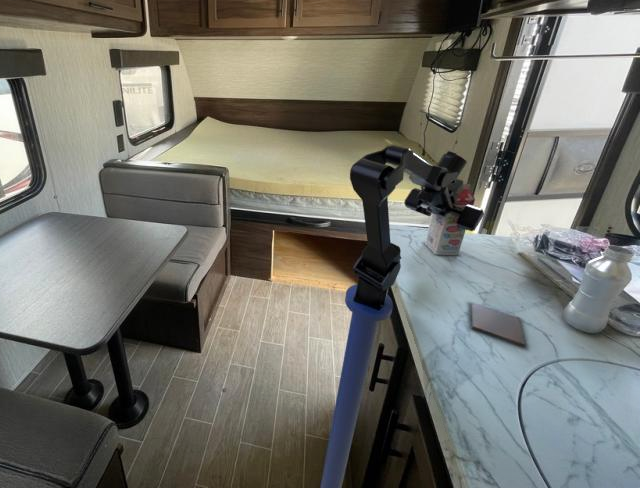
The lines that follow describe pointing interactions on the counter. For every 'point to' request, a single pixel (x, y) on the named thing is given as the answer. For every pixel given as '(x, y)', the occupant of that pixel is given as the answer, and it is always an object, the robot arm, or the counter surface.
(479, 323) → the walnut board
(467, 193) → the juice carton
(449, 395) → the counter surface
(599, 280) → the plastic bottle
